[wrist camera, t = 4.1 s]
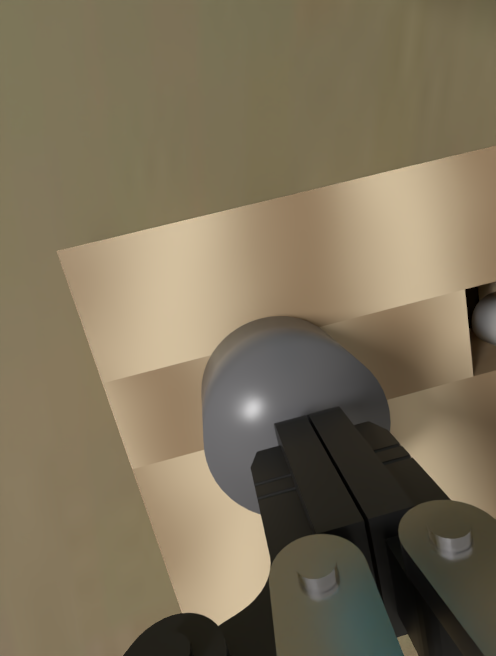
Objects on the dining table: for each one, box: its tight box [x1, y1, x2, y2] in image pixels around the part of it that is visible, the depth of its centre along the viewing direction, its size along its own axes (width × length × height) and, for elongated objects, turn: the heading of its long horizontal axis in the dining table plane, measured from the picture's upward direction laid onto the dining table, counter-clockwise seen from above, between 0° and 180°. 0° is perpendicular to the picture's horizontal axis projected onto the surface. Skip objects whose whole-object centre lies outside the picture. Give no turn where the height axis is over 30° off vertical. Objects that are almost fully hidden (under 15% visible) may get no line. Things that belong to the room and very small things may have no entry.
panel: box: [57, 146, 496, 626], centre depth 17 cm, size 26×16×4 cm, turn 103°
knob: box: [201, 316, 391, 515], centre depth 14 cm, size 5×5×7 cm
